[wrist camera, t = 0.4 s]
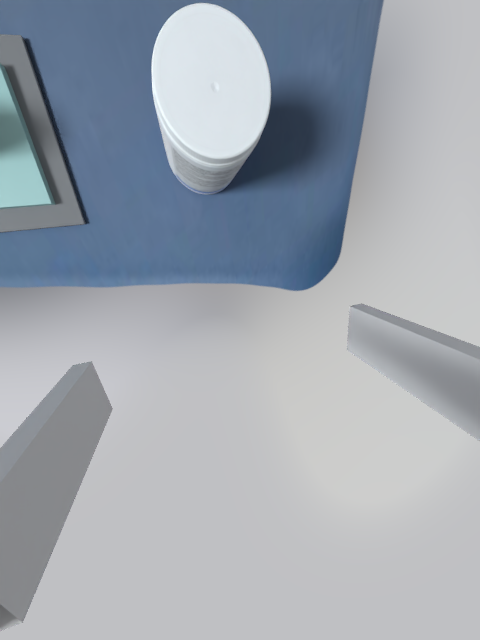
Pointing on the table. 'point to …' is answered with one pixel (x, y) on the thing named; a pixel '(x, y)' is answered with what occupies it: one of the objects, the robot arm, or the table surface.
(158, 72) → the supplement tub
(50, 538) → the robot arm
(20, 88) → the mat
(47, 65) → the table surface
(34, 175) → the lid
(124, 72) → the table surface
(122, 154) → the table surface
